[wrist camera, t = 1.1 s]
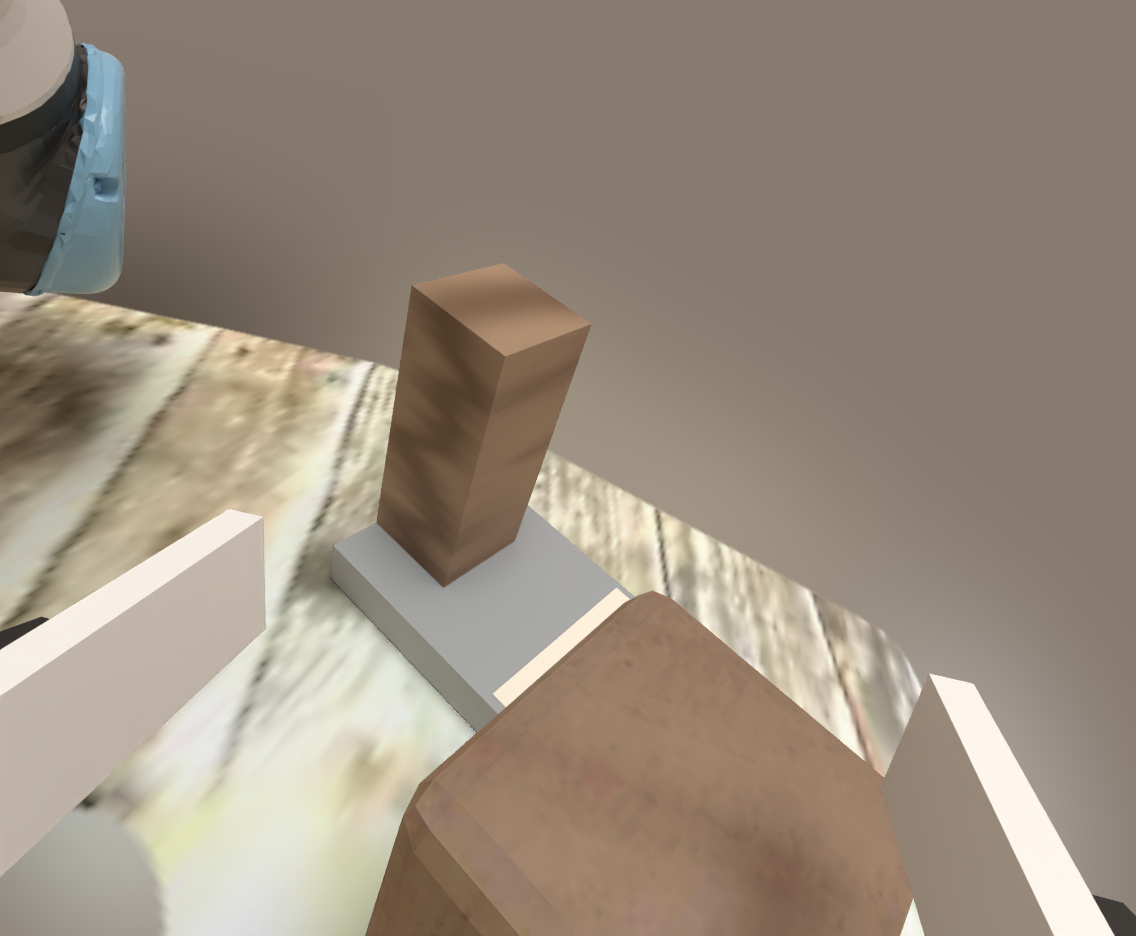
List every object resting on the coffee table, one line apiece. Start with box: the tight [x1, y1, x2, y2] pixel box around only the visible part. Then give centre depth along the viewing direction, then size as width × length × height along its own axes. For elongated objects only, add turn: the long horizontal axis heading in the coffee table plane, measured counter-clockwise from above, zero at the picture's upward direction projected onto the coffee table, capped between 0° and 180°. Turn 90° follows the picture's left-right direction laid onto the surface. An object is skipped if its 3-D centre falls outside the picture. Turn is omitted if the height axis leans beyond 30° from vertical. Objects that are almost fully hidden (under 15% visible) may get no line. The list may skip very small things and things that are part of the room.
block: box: [365, 591, 913, 936], centre depth 22 cm, size 10×10×20 cm
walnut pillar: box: [376, 263, 591, 588], centre depth 37 cm, size 6×6×16 cm
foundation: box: [330, 505, 635, 732], centre depth 40 cm, size 24×12×3 cm, turn 49°
